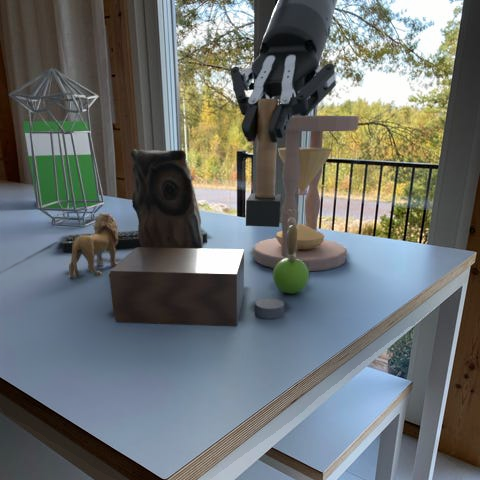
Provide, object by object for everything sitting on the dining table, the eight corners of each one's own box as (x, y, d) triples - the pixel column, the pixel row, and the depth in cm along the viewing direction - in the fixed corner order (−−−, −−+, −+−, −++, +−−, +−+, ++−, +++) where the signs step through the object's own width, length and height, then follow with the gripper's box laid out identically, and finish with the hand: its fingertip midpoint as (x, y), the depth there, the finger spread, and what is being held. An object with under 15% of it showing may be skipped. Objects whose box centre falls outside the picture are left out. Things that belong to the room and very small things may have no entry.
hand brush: (245, 225, 57) (248, 97, 52) (250, 216, 63) (253, 100, 58) (279, 227, 56) (285, 97, 51) (280, 217, 63) (286, 101, 58)
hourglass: (317, 278, 79) (328, 115, 69) (234, 260, 89) (234, 115, 79) (361, 256, 92) (375, 116, 82) (284, 242, 102) (289, 116, 92)
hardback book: (96, 202, 152) (87, 121, 143) (98, 205, 146) (89, 121, 136) (37, 205, 146) (24, 121, 137) (37, 209, 140) (22, 121, 131)
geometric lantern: (88, 231, 112) (66, 64, 98) (27, 229, 114) (-2, 65, 101) (115, 219, 126) (100, 71, 112) (61, 217, 129) (40, 72, 115)
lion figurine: (100, 258, 90) (94, 210, 87) (127, 259, 90) (122, 211, 86) (62, 282, 77) (54, 227, 74) (93, 284, 76) (86, 228, 73)
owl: (203, 274, 81) (199, 150, 73) (128, 275, 81) (117, 150, 73) (205, 255, 93) (201, 146, 85) (140, 255, 92) (131, 146, 84)
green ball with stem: (305, 284, 76) (309, 209, 71) (309, 298, 70) (314, 217, 65) (271, 284, 76) (273, 209, 71) (272, 298, 70) (275, 217, 66)
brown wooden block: (107, 321, 62) (101, 270, 59) (133, 291, 73) (129, 246, 70) (236, 326, 61) (236, 273, 58) (243, 294, 72) (243, 249, 69)
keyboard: (197, 231, 112) (197, 223, 111) (207, 242, 102) (207, 233, 101) (64, 240, 104) (63, 231, 103) (62, 252, 94) (61, 242, 94)
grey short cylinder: (284, 309, 62) (284, 319, 63) (284, 298, 66) (284, 308, 66) (254, 308, 63) (254, 318, 63) (255, 297, 66) (255, 307, 67)
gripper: (239, 5, 59) (195, 111, 54) (351, -4, 54) (315, 111, 48) (254, 58, 66) (216, 157, 60) (355, 54, 61) (324, 162, 55)
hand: (261, 136), depth 54 cm, fingers closed on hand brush, 2 cm apart
